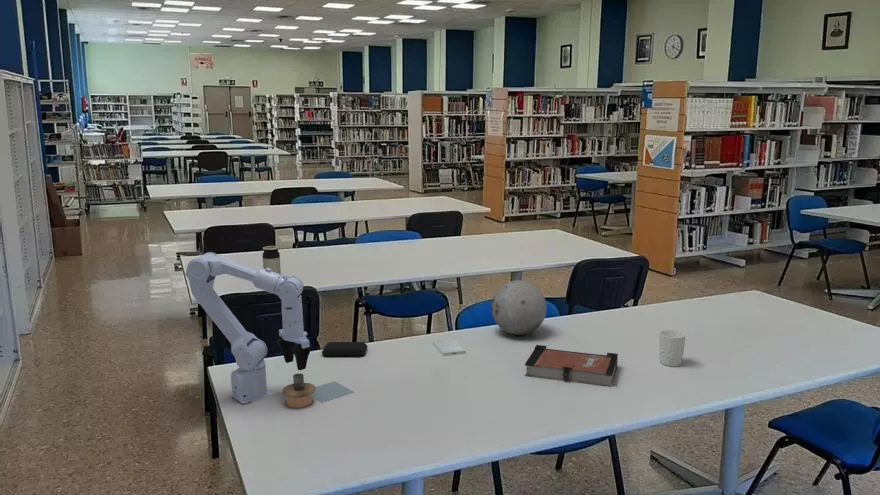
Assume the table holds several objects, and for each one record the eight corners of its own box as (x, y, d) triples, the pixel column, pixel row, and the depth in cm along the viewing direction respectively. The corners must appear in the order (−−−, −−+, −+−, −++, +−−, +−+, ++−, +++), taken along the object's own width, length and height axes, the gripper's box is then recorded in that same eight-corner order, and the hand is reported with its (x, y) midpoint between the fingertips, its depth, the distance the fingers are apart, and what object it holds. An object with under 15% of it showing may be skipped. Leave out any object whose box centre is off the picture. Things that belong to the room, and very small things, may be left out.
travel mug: (279, 286, 321) (276, 248, 318) (262, 286, 321) (260, 249, 318) (283, 281, 329) (281, 245, 326) (266, 282, 329) (264, 245, 326)
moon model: (557, 335, 247) (558, 282, 243) (515, 346, 236) (516, 291, 232) (521, 322, 263) (522, 272, 259) (480, 331, 252) (480, 279, 248)
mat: (321, 404, 190) (321, 402, 190) (302, 392, 198) (302, 390, 198) (354, 393, 197) (354, 392, 197) (334, 382, 205) (334, 381, 205)
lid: (292, 400, 184) (291, 384, 183) (276, 390, 190) (276, 375, 189) (321, 391, 189) (320, 375, 188) (305, 381, 196) (304, 367, 195)
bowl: (294, 411, 186) (293, 398, 185) (282, 403, 191) (281, 390, 190) (316, 404, 190) (316, 391, 189) (304, 396, 195) (303, 383, 195)
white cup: (687, 362, 219) (689, 333, 217) (677, 369, 214) (679, 339, 212) (664, 357, 224) (666, 328, 223) (653, 363, 219) (655, 334, 217)
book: (524, 378, 209) (524, 362, 208) (536, 359, 225) (536, 344, 224) (611, 389, 200) (611, 373, 199) (617, 368, 216) (617, 353, 215)
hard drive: (432, 341, 239) (442, 352, 227) (454, 339, 241) (466, 350, 229) (432, 345, 239) (442, 357, 227) (454, 343, 241) (466, 355, 229)
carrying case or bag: (368, 347, 237) (326, 347, 237) (368, 339, 236) (326, 339, 237) (364, 358, 226) (320, 358, 227) (364, 350, 226) (320, 350, 226)
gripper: (317, 322, 188) (320, 369, 191) (293, 311, 199) (296, 355, 202) (295, 328, 184) (297, 375, 186) (271, 316, 195) (274, 361, 197)
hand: (295, 365), depth 194 cm, fingers open, 7 cm apart
